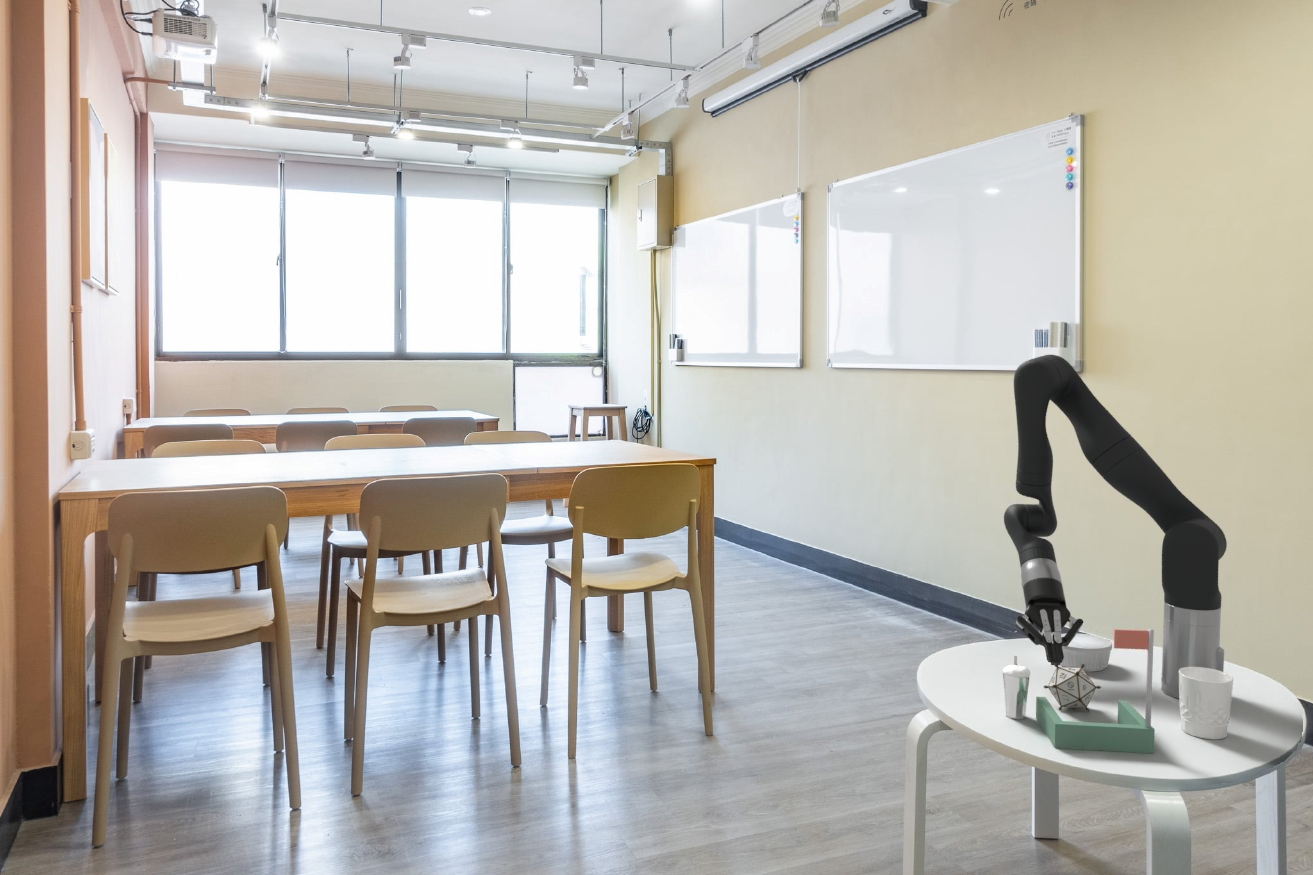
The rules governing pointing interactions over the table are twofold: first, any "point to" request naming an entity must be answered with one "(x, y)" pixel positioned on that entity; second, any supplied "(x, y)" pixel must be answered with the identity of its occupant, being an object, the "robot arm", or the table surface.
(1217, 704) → the white cup
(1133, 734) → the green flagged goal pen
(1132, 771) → the table surface
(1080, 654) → the ramekin
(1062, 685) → the game die
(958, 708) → the table surface
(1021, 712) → the milkshake
